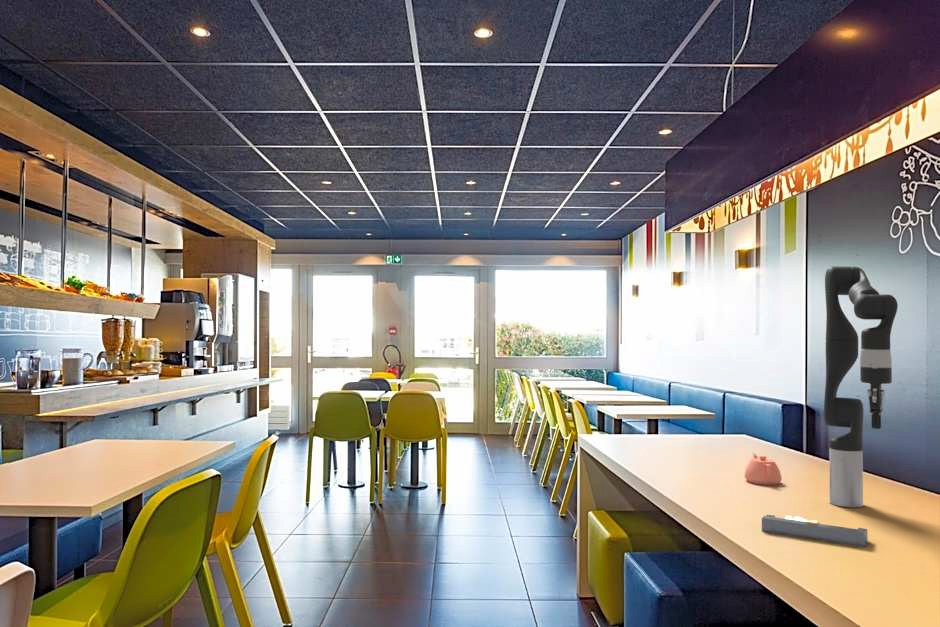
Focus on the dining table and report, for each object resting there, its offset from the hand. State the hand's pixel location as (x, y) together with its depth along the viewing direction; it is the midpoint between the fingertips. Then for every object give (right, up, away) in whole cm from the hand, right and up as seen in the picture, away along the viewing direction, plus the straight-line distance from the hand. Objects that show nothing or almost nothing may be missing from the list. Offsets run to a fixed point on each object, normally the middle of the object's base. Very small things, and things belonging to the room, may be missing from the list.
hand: (876, 428), depth 191 cm
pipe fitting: (-23, -27, -6) cm, 36 cm away
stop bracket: (-23, -26, -11) cm, 37 cm away
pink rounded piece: (-7, -29, +58) cm, 66 cm away
